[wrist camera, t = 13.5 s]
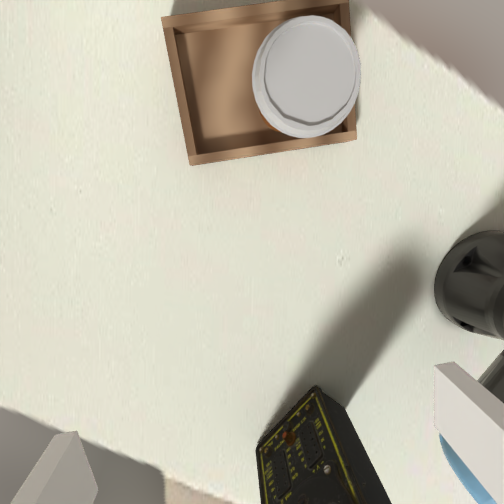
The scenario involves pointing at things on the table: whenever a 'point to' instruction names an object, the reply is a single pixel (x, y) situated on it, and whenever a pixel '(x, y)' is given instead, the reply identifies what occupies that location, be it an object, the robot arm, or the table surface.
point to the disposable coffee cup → (306, 76)
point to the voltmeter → (316, 458)
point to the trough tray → (236, 78)
